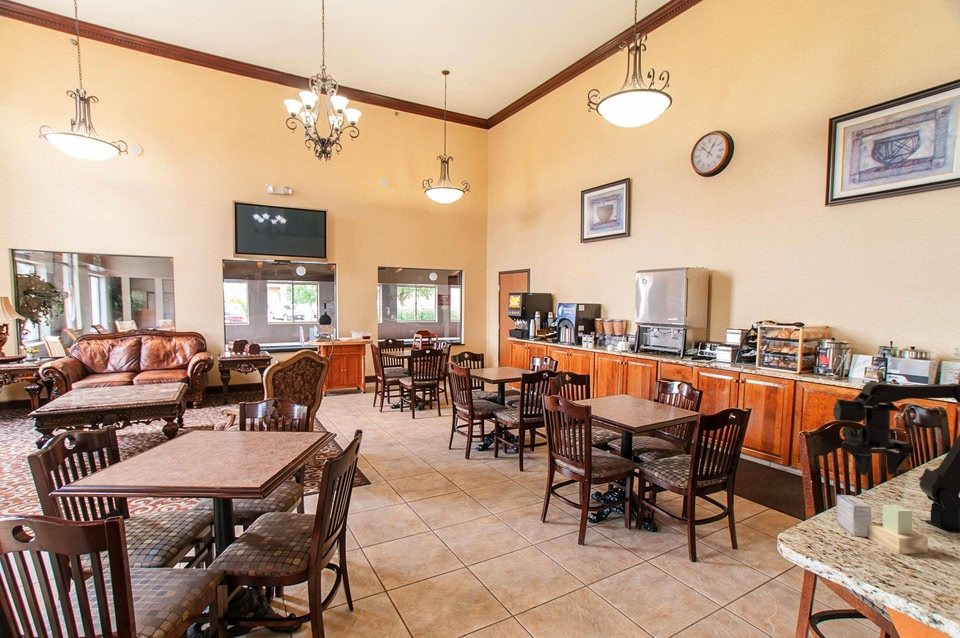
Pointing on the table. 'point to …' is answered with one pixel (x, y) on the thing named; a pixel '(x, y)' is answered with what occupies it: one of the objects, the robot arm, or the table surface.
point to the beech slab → (898, 540)
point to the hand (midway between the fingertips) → (877, 474)
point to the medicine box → (853, 515)
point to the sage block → (897, 519)
